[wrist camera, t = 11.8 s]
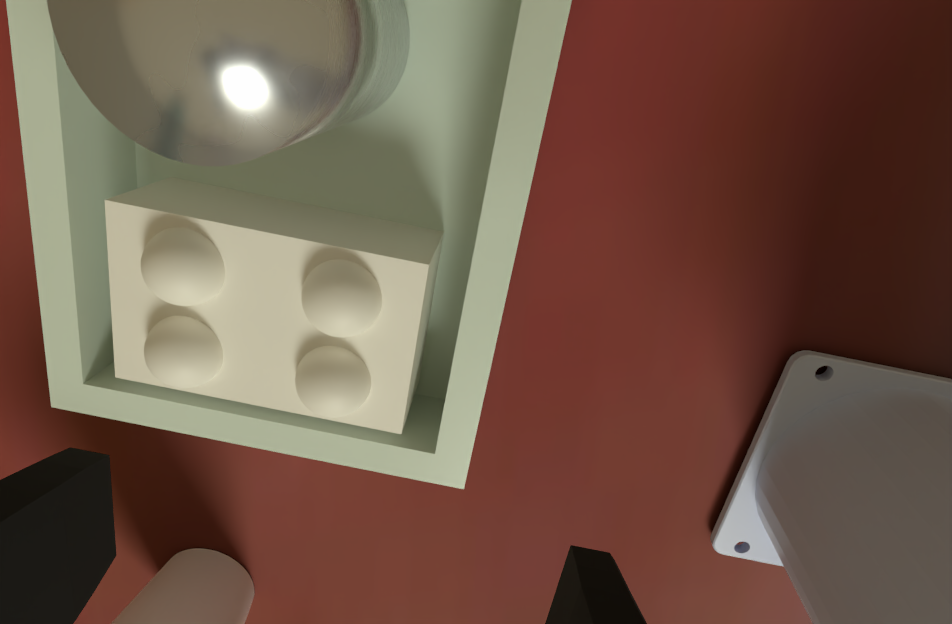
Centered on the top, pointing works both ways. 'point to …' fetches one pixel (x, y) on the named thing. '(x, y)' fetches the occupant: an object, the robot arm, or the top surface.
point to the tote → (319, 184)
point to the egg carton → (270, 301)
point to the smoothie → (193, 592)
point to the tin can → (231, 69)
